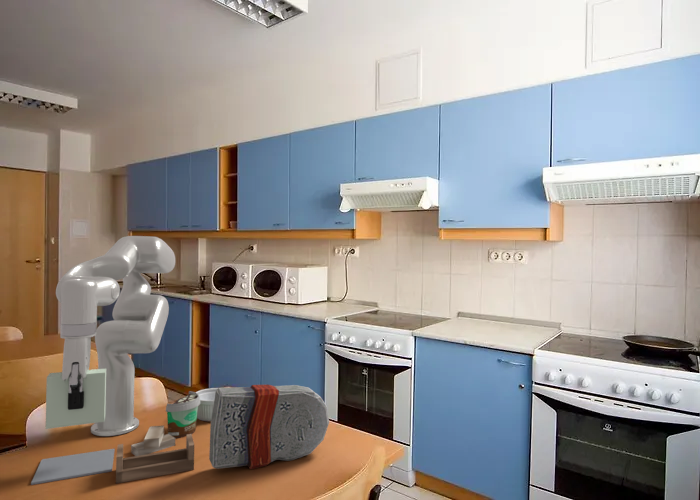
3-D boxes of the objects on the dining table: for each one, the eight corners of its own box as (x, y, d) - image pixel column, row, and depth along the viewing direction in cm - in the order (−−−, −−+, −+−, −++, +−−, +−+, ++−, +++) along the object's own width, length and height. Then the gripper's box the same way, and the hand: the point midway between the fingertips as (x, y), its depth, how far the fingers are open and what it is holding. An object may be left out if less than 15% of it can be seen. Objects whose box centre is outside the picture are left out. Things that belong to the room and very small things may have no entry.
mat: (41, 461, 111) (41, 459, 111) (114, 450, 118) (114, 448, 118) (31, 484, 100) (31, 482, 100) (112, 471, 107) (112, 469, 107)
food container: (185, 442, 124) (185, 406, 124) (164, 440, 125) (165, 404, 125) (207, 425, 136) (208, 392, 136) (189, 423, 137) (190, 390, 137)
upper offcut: (143, 449, 115) (143, 439, 115) (149, 435, 123) (150, 426, 123) (158, 447, 116) (159, 438, 116) (163, 434, 124) (164, 425, 124)
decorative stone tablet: (219, 392, 105) (334, 388, 119) (214, 384, 111) (324, 381, 124) (210, 476, 104) (327, 462, 118) (205, 464, 110) (317, 451, 124)
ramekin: (197, 408, 150) (197, 387, 150) (237, 407, 152) (238, 387, 151) (187, 423, 137) (187, 401, 137) (231, 423, 138) (232, 400, 138)
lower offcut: (131, 454, 117) (131, 445, 117) (168, 442, 125) (168, 433, 125) (137, 459, 114) (137, 449, 114) (175, 447, 122) (175, 438, 122)
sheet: (48, 422, 108) (49, 373, 108) (105, 416, 113) (106, 368, 113) (45, 429, 105) (46, 377, 105) (104, 421, 110) (105, 372, 110)
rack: (117, 469, 108) (117, 444, 108) (190, 457, 115) (191, 433, 115) (115, 483, 102) (116, 457, 102) (193, 469, 109) (194, 444, 109)
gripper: (65, 325, 115) (64, 397, 115) (54, 337, 100) (52, 419, 100) (99, 324, 118) (97, 393, 118) (93, 335, 103) (91, 415, 103)
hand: (77, 404), depth 109 cm, fingers closed on sheet, 4 cm apart
